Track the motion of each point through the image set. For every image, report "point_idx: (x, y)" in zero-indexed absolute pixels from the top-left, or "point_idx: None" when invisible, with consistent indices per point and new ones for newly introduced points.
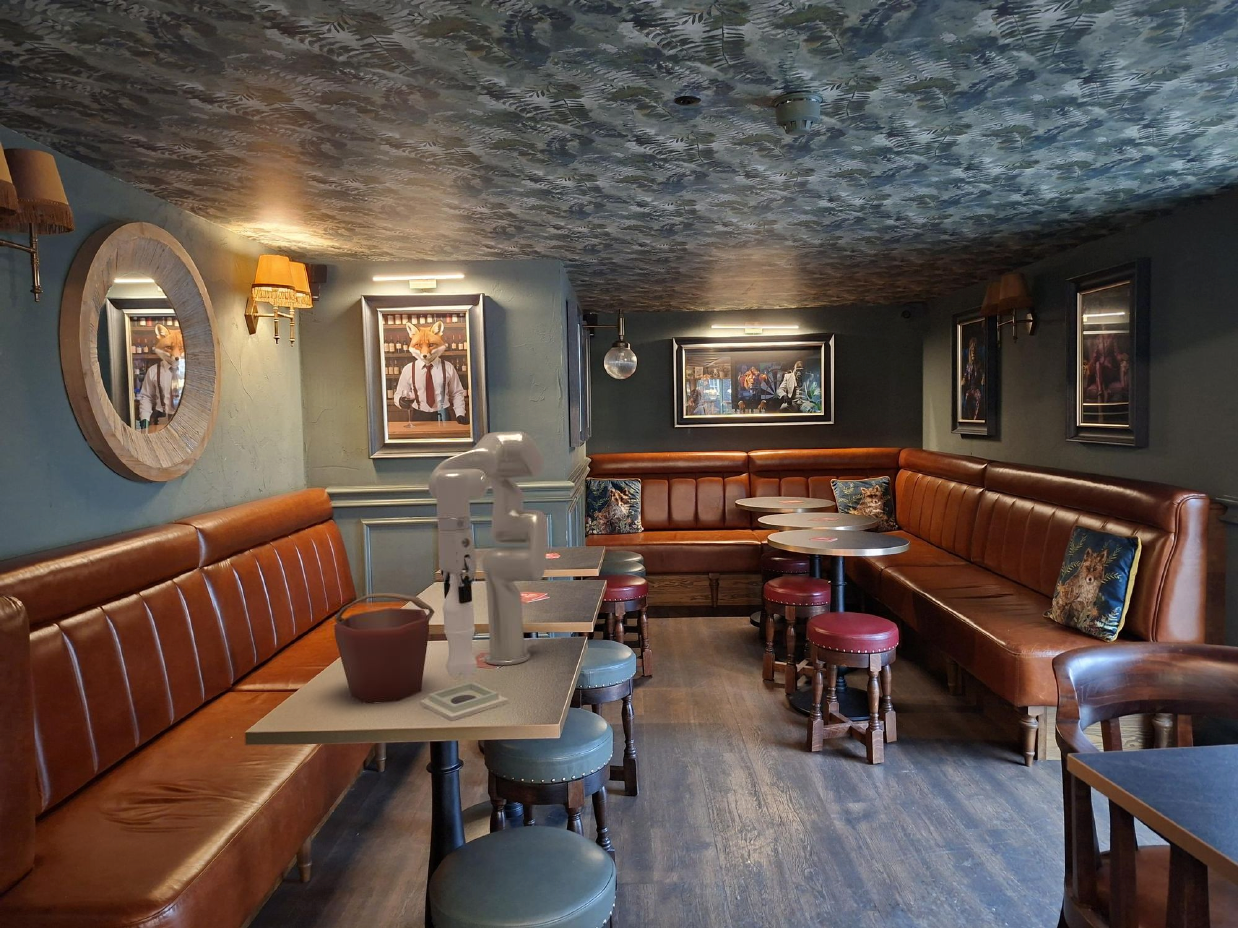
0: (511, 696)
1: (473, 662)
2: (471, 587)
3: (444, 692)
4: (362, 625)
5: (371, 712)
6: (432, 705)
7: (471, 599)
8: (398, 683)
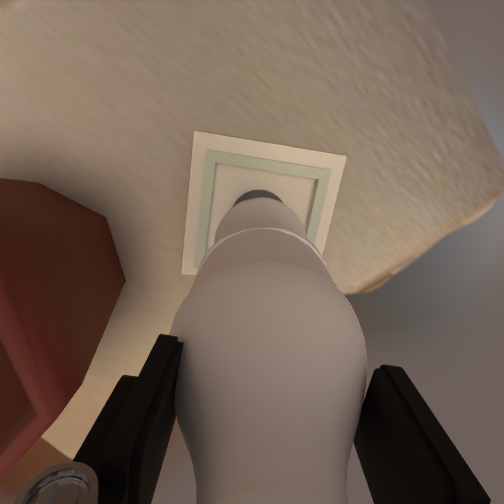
0: (320, 116)
1: (305, 235)
2: (466, 464)
3: (207, 235)
4: None
5: (143, 341)
6: None
7: (402, 375)
8: (116, 301)
